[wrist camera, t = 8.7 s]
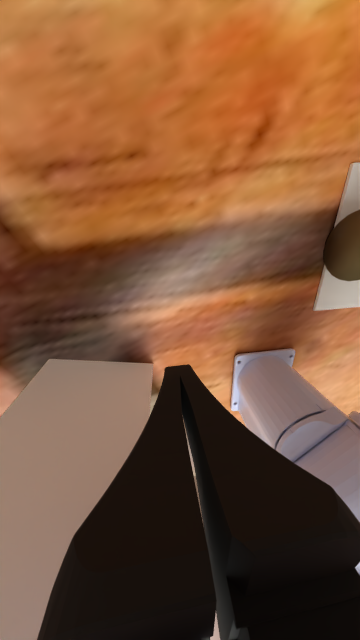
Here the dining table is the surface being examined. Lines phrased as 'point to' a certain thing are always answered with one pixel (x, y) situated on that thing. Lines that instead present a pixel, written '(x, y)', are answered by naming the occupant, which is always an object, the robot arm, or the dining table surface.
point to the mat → (331, 289)
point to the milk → (59, 472)
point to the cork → (344, 249)
